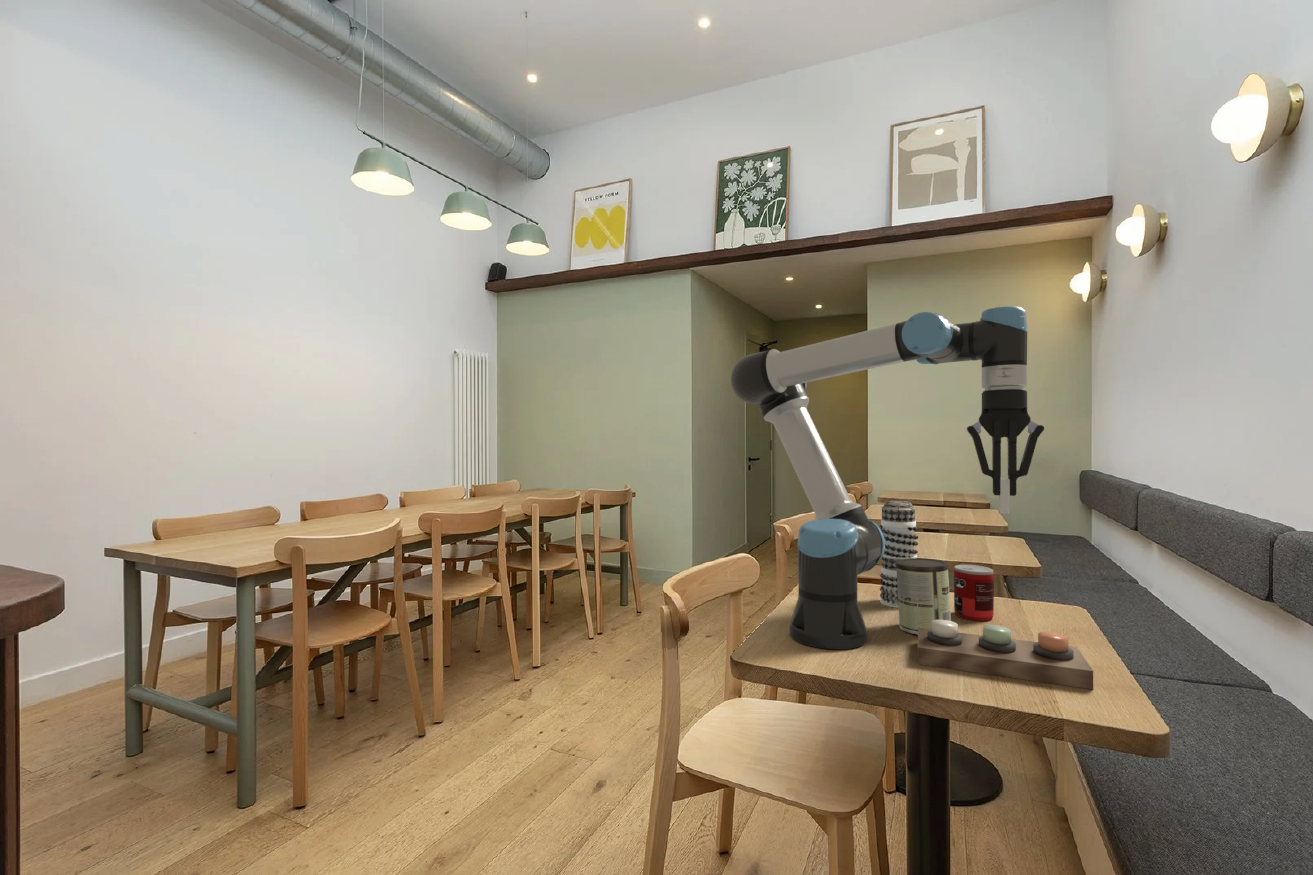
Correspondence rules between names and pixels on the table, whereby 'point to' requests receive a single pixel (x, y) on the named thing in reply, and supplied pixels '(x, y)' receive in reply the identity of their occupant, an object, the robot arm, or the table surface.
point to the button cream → (944, 628)
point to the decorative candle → (896, 545)
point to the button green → (997, 634)
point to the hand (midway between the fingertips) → (1004, 512)
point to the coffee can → (922, 593)
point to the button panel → (1005, 659)
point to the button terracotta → (1053, 641)
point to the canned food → (974, 592)
